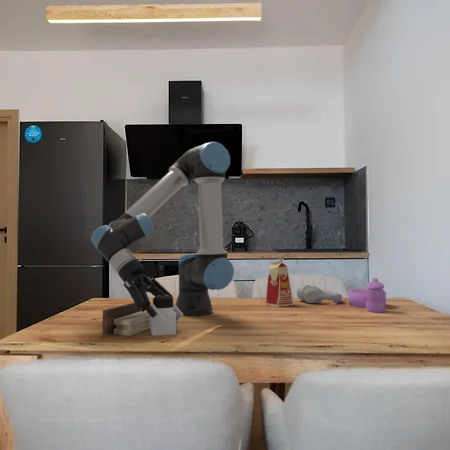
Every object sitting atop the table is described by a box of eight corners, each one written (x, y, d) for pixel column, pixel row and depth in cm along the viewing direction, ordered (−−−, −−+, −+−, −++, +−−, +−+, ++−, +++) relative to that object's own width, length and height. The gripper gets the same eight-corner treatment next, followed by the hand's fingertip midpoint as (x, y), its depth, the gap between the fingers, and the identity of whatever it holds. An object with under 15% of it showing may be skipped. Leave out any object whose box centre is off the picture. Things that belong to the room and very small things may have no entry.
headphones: (307, 304, 178) (348, 309, 183) (309, 286, 179) (350, 291, 183) (290, 298, 196) (328, 303, 201) (292, 282, 197) (330, 287, 201)
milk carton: (293, 305, 180) (293, 259, 181) (277, 307, 175) (277, 260, 175) (279, 302, 187) (279, 259, 188) (264, 304, 182) (263, 259, 183)
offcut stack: (113, 333, 120) (114, 319, 120) (140, 324, 133) (140, 311, 134) (131, 335, 118) (131, 320, 118) (156, 325, 131) (156, 312, 131)
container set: (345, 303, 186) (345, 274, 187) (380, 303, 185) (379, 274, 185) (358, 312, 161) (357, 279, 162) (398, 313, 160) (397, 279, 160)
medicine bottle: (176, 338, 120) (176, 296, 120) (152, 339, 118) (152, 298, 118) (172, 332, 127) (172, 293, 127) (149, 334, 125) (149, 294, 125)
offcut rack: (102, 338, 119) (102, 310, 120) (136, 326, 136) (136, 301, 136) (130, 341, 116) (130, 312, 116) (161, 328, 133) (161, 303, 133)
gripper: (139, 272, 139) (181, 322, 133) (97, 277, 118) (144, 337, 112) (153, 256, 137) (196, 306, 131) (112, 259, 116) (161, 319, 110)
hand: (172, 320), depth 121 cm, fingers closed on medicine bottle, 10 cm apart
